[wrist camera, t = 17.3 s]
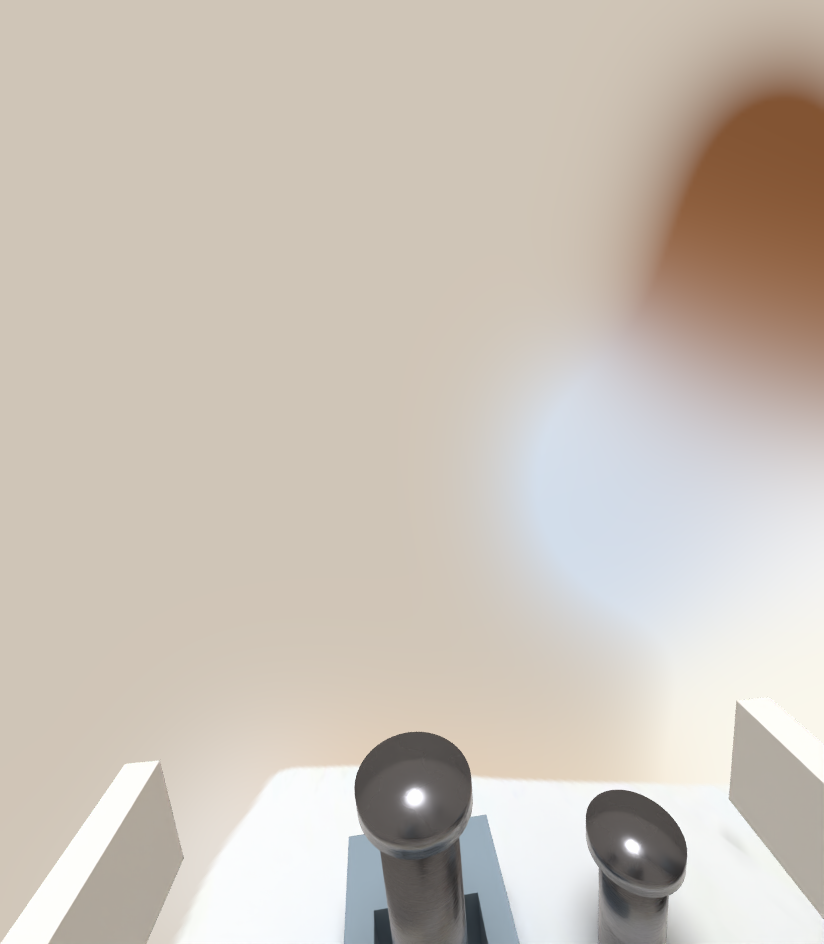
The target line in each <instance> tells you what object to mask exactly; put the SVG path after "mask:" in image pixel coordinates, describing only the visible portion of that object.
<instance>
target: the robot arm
mask: <svg viewBox="0 0 824 944" xmlns="http://www.w3.org/2000/svg"><path fill="white" fill-rule="evenodd" d="M729 800H730V801H731V802H732V804H733V805H734V806H735V807H736V809H737V810H738V811H739V812H740V814H741V815H742V816H743V818H744V819H745V820H746V821H747V823H748V824H749V825H750V826H751V828H752V829H753V830H754V831H755V833H756V834H757V835H758V837H759V838H760V839H761V840H762V842H763V843H764V844H765V845H766V847H767V848H768V849H769V850H770V852H771V853H772V854H773V856H774V857H775V858H776V859H777V861H778V862H779V863H780V864H781V866H782V867H783V868H784V869H785V871H786V872H787V873H788V875H789V876H790V877H791V878H792V880H793V881H794V882H795V883H796V885H797V886H798V887H799V888H800V890H801V891H802V892H803V894H804V895H805V896H806V897H807V899H808V900H809V901H810V902H811V904H812V905H813V906H814V907H815V909H816V910H817V911H818V913H819V914H820V915H821V916H822V918H823V919H824V744H823V743H822V742H821V741H820V740H819V739H818V738H816V737H815V736H814V735H813V734H812V733H811V732H809V731H808V730H807V729H806V728H805V727H803V726H802V725H801V724H800V723H799V722H798V721H797V720H796V719H794V718H793V717H792V716H791V715H790V714H789V713H787V712H786V711H785V710H784V709H783V708H782V707H780V706H779V705H778V704H777V703H776V702H775V701H773V700H772V699H771V698H770V697H766V698H757V699H747V700H738V701H736V714H735V727H734V741H733V753H732V766H731V779H730V792H729ZM183 859H184V857H183V853H182V849H181V845H180V841H179V837H178V833H177V829H176V825H175V820H174V817H173V812H172V808H171V804H170V800H169V796H168V792H167V788H166V784H165V780H164V776H163V772H162V768H161V764H160V761H150V762H141V763H130V764H125V765H124V766H123V768H122V769H121V771H120V772H119V774H118V775H117V777H116V778H115V779H114V781H113V783H112V784H111V785H110V787H109V788H108V790H107V791H106V792H105V794H104V795H103V797H102V798H101V800H100V801H99V803H98V804H97V806H96V807H95V808H94V810H93V811H92V813H91V814H90V815H89V817H88V818H87V820H86V821H85V823H84V824H83V826H82V827H81V828H80V830H79V831H78V833H77V834H76V836H75V837H74V839H73V840H72V842H71V843H70V844H69V846H68V847H67V849H66V850H65V852H64V853H63V855H62V856H61V857H60V859H59V860H58V862H57V863H56V865H55V866H54V868H53V869H52V870H51V872H50V873H49V875H48V876H47V878H46V879H45V880H44V882H43V883H42V885H41V886H40V888H39V889H38V890H37V892H36V893H35V895H34V896H33V898H32V899H31V901H30V902H29V903H28V905H27V906H26V908H25V909H24V911H23V912H22V914H21V915H20V917H19V918H18V919H17V921H16V922H15V924H14V925H13V926H12V928H11V929H10V931H9V932H8V934H7V935H6V937H5V938H4V939H3V941H2V942H1V944H146V943H147V941H148V938H149V936H150V934H151V932H152V929H153V927H154V925H155V922H156V920H157V918H158V916H159V913H160V911H161V909H162V907H163V904H164V902H165V900H166V897H167V895H168V893H169V891H170V888H171V886H172V884H173V881H174V879H175V877H176V875H177V872H178V870H179V868H180V865H181V863H182V861H183Z"/></svg>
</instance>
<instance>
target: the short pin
mask: <svg viewBox="0 0 824 944" xmlns="http://www.w3.org/2000/svg"><path fill="white" fill-rule="evenodd" d="M586 840H587V844H588V848H589V851H590V853H591V855H592V857H593V859H594V861H595V862H596V864H597V865H598V867H599V915H598V940H599V944H666V931H667V914H668V897H669V895H671V894H673V893H674V892H675V891H677V890H678V889H679V888H680V886H681V885H682V883H683V881H684V878H685V874H686V862H687V847H686V842H685V839H684V836H683V834H682V832H681V830H680V828H679V826H678V825H677V823H676V822H675V821H674V819H673V818H672V817H671V816H670V815H669V814H668V813H667V812H666V811H665V810H664V809H663V808H662V807H661V806H659V805H658V804H657V803H655V802H654V801H652V800H650V799H649V798H647V797H645V796H643V795H640V794H638V793H635V792H631V791H626V790H610V791H606V792H603V793H601V794H599V795H597V796H596V797H595V798H594V799H593V800H592V801H591V803H590V804H589V806H588V809H587V813H586Z"/></svg>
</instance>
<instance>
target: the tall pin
mask: <svg viewBox="0 0 824 944" xmlns="http://www.w3.org/2000/svg"><path fill="white" fill-rule="evenodd" d="M355 799H356V806H357V812H358V818H359V823H360V826H361V829H362V830H363V832H364V834H365V836H366V837H367V839H368V840H369V841H370V842H371V843H372V844H373V845H374V846H375V847H376V848H377V849H378V850H380V854H381V861H382V869H383V876H384V883H385V891H386V898H387V905H388V913H389V920H390V927H391V935H392V942H393V944H468V936H467V924H466V912H465V900H464V888H463V876H462V864H461V852H460V840H459V837H460V835H461V834H462V833H463V831H464V830H465V828H466V826H467V824H468V822H469V819H470V816H471V812H472V804H473V799H472V784H471V773H470V768H469V765H468V763H467V761H466V759H465V757H464V755H463V754H462V752H461V751H460V750H459V749H458V748H457V747H456V746H455V745H454V744H453V743H451V742H450V741H448V740H447V739H445V738H443V737H441V736H438V735H435V734H431V733H426V732H408V733H403V734H399V735H396V736H393V737H391V738H389V739H387V740H385V741H383V742H382V743H380V744H379V745H377V746H376V747H375V748H374V749H373V750H372V751H371V752H370V753H369V754H368V755H367V756H366V758H365V759H364V760H363V762H362V764H361V766H360V767H359V770H358V772H357V776H356V780H355Z"/></svg>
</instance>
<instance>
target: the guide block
mask: <svg viewBox="0 0 824 944" xmlns="http://www.w3.org/2000/svg"><path fill="white" fill-rule="evenodd" d="M459 840H460V852H461V864H462V876H463V888H464V900H465V912H466V924H467V936H468V944H520V943H519V939H518V936H517V932H516V928H515V924H514V920H513V916H512V912H511V909H510V905H509V901H508V897H507V893H506V889H505V885H504V882H503V878H502V874H501V870H500V866H499V862H498V858H497V855H496V851H495V847H494V843H493V839H492V835H491V832H490V828H489V824H488V820H487V816H486V815H481V816H475V817H470V819H469V822H468V824H467V826H466V828H465V830H464V831H463V833H462V834H461V835H460V837H459ZM344 944H393V942H392V935H391V927H390V920H389V913H388V905H387V898H386V891H385V883H384V876H383V869H382V861H381V854H380V850H378V849H377V848H376V847H375V846H374V845H373V844H372V843H371V842H370V841H369V840H368V839H367V837H366V836H365V834H363V835H357V836H351V837H349V847H348V869H347V891H346V912H345V934H344Z"/></svg>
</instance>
